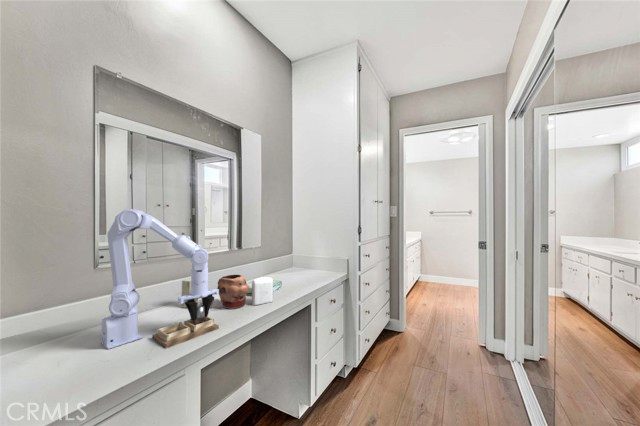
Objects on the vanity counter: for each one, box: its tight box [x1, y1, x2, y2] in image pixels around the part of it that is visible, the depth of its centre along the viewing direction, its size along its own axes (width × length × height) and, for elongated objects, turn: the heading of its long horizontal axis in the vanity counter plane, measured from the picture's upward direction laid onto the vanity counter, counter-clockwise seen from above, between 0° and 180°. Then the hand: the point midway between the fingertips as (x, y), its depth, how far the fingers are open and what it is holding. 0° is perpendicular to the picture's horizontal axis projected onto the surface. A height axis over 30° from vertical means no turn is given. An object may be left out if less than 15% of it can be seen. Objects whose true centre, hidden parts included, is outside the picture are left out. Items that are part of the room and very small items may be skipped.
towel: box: [245, 279, 283, 297], centre depth 145 cm, size 18×21×5 cm
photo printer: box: [251, 276, 274, 306], centre depth 125 cm, size 10×4×12 cm, turn 126°
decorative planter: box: [216, 274, 249, 309], centre depth 121 cm, size 20×12×14 cm, turn 62°
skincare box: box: [180, 277, 199, 309], centre depth 121 cm, size 6×4×12 cm
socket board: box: [151, 316, 220, 349], centre depth 92 cm, size 18×11×3 cm, turn 143°
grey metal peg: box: [193, 303, 205, 325], centre depth 96 cm, size 4×4×6 cm
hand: (199, 318), depth 96 cm, fingers closed on grey metal peg, 4 cm apart
